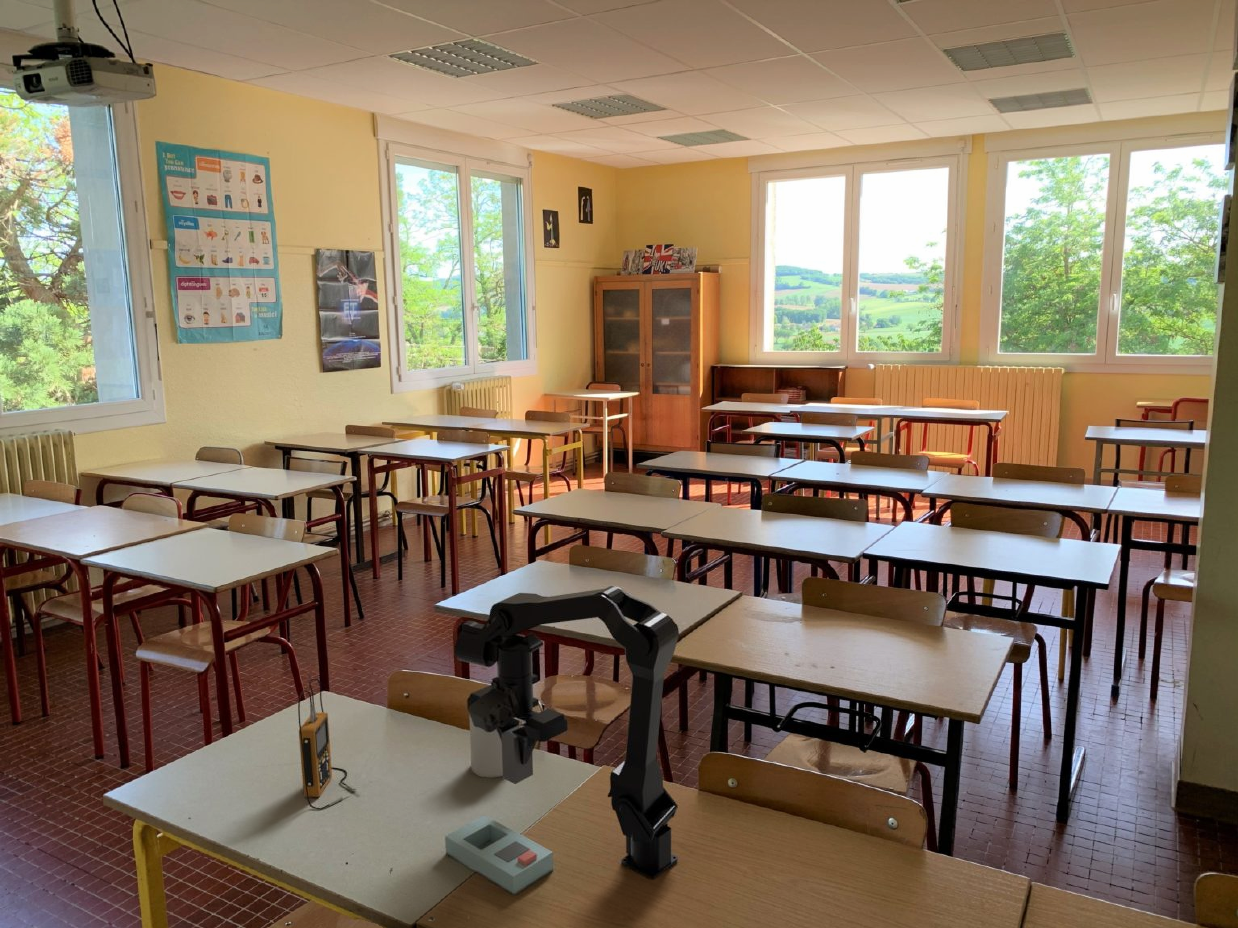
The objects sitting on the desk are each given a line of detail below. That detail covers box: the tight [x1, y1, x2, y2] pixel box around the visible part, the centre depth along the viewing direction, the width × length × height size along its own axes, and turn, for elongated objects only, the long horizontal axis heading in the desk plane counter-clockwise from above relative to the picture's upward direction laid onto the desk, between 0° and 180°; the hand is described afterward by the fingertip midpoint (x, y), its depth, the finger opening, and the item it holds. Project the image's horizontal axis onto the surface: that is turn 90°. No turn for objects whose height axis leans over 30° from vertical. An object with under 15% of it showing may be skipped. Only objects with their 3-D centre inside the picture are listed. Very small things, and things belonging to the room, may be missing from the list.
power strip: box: [444, 814, 554, 896], centre depth 141 cm, size 16×8×4 cm, turn 49°
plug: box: [501, 724, 534, 785], centre depth 151 cm, size 4×3×8 cm
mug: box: [469, 716, 503, 779], centre depth 172 cm, size 12×8×11 cm
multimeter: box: [297, 678, 362, 810], centre depth 162 cm, size 15×10×20 cm
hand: (517, 760), depth 151 cm, fingers closed on plug, 3 cm apart
